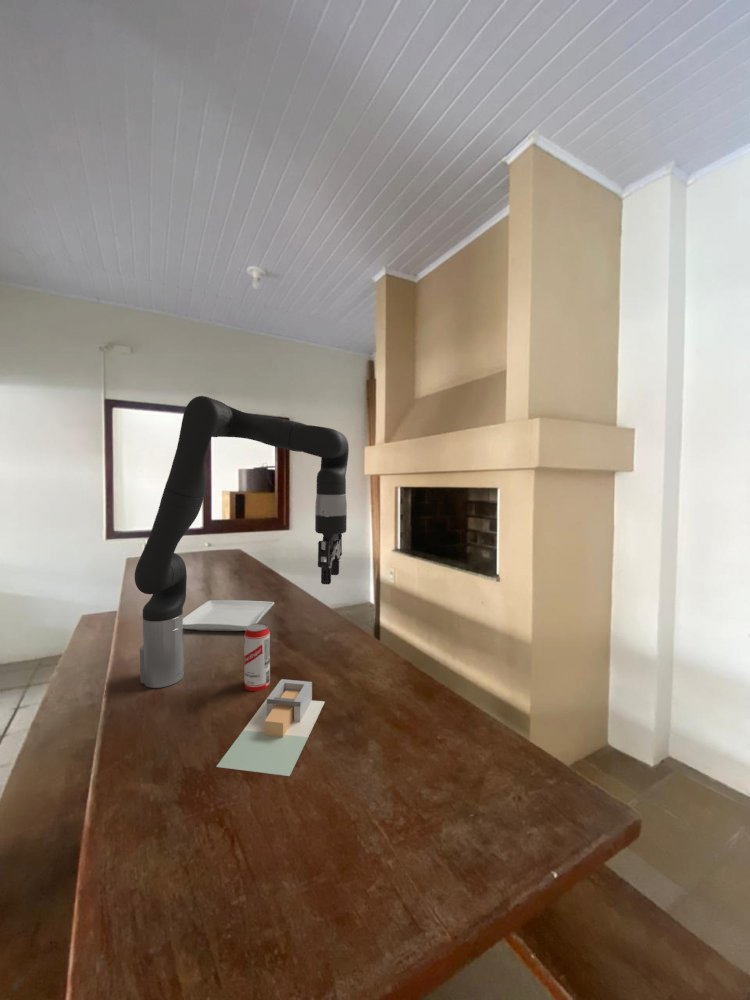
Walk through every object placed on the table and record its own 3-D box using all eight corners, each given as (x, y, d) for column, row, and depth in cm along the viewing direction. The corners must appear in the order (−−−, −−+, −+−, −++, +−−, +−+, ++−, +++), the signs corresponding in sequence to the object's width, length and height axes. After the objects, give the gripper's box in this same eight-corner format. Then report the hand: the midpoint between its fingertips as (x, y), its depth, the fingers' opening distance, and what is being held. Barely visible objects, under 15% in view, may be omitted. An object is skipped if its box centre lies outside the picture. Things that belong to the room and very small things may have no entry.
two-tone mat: (216, 771, 72) (215, 743, 71) (268, 700, 95) (268, 677, 94) (289, 781, 70) (289, 751, 69) (324, 705, 93) (325, 683, 92)
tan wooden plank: (264, 735, 80) (264, 721, 80) (285, 702, 92) (285, 689, 92) (283, 737, 80) (283, 723, 80) (302, 703, 92) (302, 691, 92)
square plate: (254, 636, 133) (254, 625, 133) (174, 634, 134) (173, 623, 133) (275, 609, 160) (275, 600, 160) (208, 608, 161) (208, 598, 160)
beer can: (262, 696, 96) (262, 632, 95) (239, 693, 98) (239, 630, 97) (274, 683, 102) (274, 623, 101) (252, 680, 104) (252, 621, 103)
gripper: (323, 510, 102) (323, 571, 103) (307, 515, 88) (306, 586, 89) (351, 510, 101) (351, 572, 102) (339, 516, 87) (339, 588, 88)
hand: (330, 579), depth 96 cm, fingers open, 8 cm apart
